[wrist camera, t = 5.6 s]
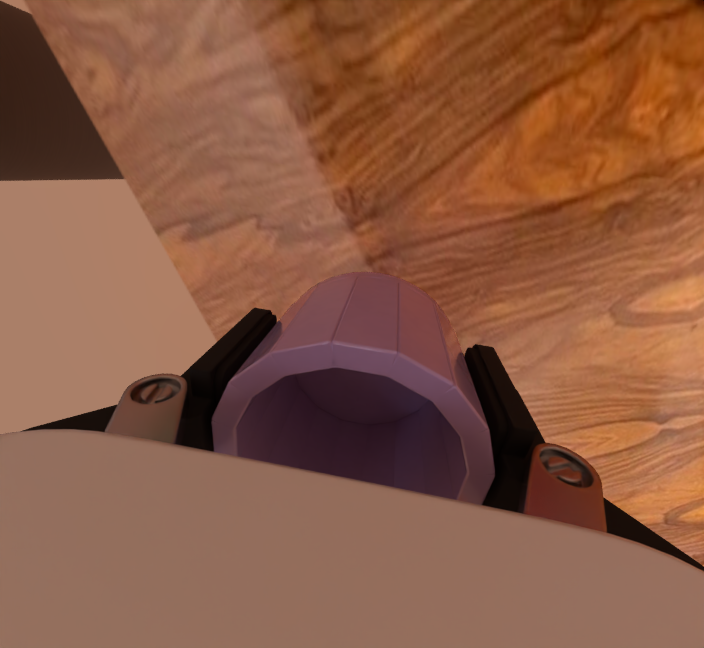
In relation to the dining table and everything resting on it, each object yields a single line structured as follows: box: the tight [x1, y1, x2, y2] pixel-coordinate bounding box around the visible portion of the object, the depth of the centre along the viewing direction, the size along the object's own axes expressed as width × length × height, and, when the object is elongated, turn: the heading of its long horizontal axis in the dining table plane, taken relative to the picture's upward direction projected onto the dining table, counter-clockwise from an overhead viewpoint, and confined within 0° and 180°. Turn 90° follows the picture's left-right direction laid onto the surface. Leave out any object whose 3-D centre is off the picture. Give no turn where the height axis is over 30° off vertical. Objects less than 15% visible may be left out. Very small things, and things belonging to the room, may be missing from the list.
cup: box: [211, 272, 495, 505], centre depth 10 cm, size 6×6×5 cm
